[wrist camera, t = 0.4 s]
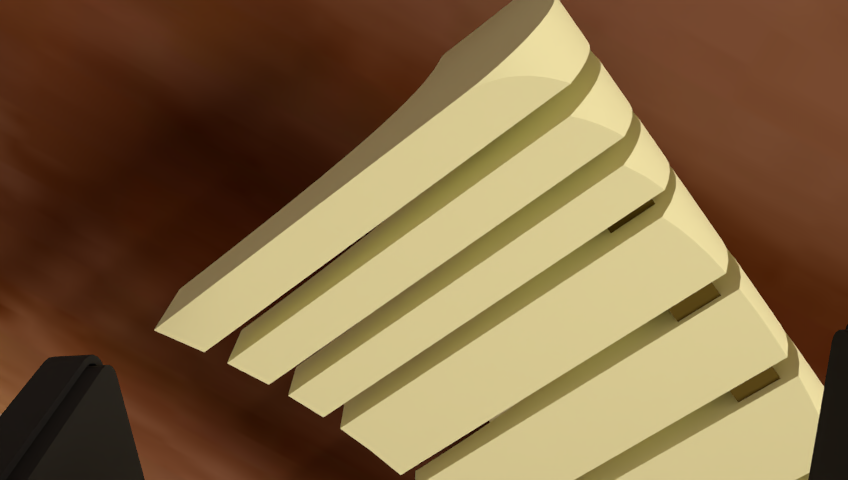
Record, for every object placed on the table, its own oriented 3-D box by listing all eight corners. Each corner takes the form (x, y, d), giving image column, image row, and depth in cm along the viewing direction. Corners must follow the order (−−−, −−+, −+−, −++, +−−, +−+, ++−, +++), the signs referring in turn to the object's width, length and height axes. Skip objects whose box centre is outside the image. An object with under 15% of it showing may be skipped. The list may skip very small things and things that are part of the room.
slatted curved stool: (811, 381, 47) (1012, 646, 30) (583, 508, 51) (653, 802, 35) (513, -45, 37) (573, 10, 21) (264, 155, 41) (153, 330, 25)
